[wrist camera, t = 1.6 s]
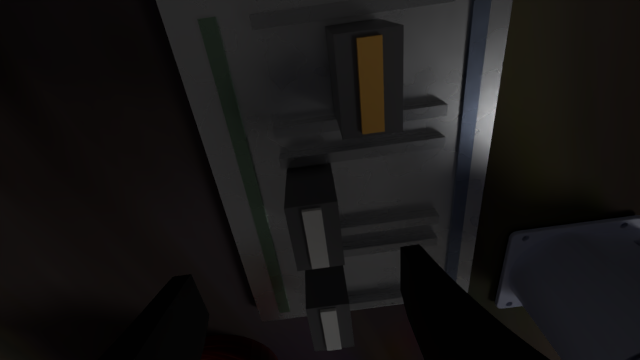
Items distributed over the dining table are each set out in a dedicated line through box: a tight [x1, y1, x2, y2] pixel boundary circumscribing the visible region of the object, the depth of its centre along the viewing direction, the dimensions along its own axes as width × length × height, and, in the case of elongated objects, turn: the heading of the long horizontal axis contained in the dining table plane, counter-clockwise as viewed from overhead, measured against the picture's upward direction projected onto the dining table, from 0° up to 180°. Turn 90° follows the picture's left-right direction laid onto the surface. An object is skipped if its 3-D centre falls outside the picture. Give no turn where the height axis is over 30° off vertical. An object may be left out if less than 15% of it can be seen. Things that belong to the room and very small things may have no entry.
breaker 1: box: [284, 163, 345, 271], centre depth 17 cm, size 2×4×4 cm, turn 7°
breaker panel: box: [156, 0, 513, 322], centre depth 20 cm, size 16×22×2 cm
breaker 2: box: [305, 265, 354, 351], centre depth 21 cm, size 2×4×4 cm, turn 7°
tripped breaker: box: [325, 19, 404, 140], centre depth 14 cm, size 2×4×4 cm, turn 7°
